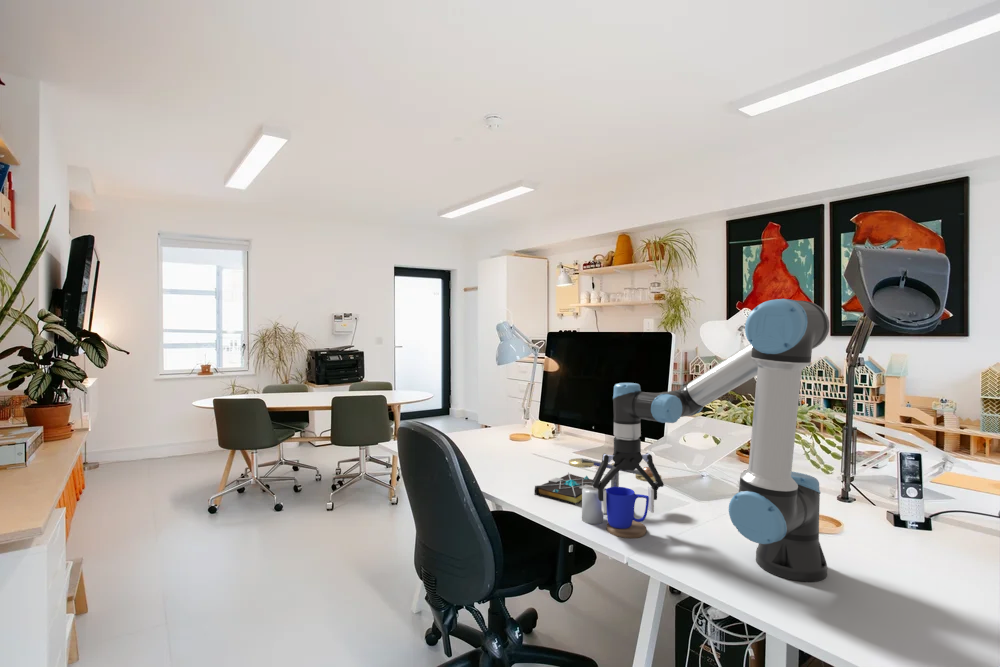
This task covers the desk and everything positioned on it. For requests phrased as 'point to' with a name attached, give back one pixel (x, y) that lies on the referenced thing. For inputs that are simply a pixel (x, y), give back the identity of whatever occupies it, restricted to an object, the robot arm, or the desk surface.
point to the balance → (615, 480)
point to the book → (564, 488)
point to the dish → (628, 530)
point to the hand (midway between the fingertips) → (627, 511)
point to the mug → (622, 507)
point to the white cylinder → (591, 506)
